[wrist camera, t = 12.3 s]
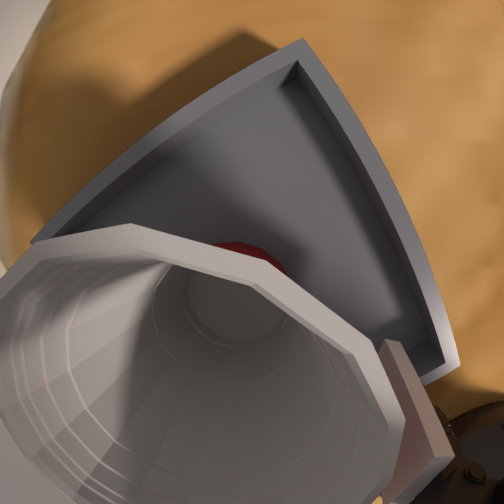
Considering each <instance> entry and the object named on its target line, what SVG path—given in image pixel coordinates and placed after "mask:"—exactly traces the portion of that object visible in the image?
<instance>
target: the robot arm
mask: <svg viewBox="0 0 504 504" xmlns="http://www.w3.org/2000/svg"><path fill="white" fill-rule="evenodd" d="M377 355H378V357H379V359H380V361H381V364H382V366H383V368H384V370H385V372H386V375H387V377H388V379H389V382H390V384H391V386H392V388H393V391H394V393H395V395H396V398H397V400H398V402H399V405H400V407H401V410H402V412H403V414H404V417H405V419H406V420H405V426H404V431H403V436H402V441H401V445H400V450H399V454H398V459H397V463H396V467H395V471H394V475H393V478H392V481H391V482H390V483H389V485H388V486H387V487H386V488H385V489H384V490H383V491H382V492H381V495H382V501H383V504H504V402H501V403H495V404H491V405H487V406H484V407H481V408H479V409H476V410H474V411H471V412H469V413H467V414H465V415H463V416H461V417H459V418H457V419H455V420H453V421H451V422H450V423H449V422H448V419H447V417H446V415H445V414H444V413H443V412H442V411H441V410H440V409H439V408H438V407H437V406H432V404H431V401H430V399H429V397H428V395H427V393H426V391H425V389H424V387H423V385H422V383H421V381H420V379H419V377H418V375H417V373H416V371H415V369H414V367H413V365H412V364H411V362H410V360H409V358H408V356H407V354H406V352H405V350H404V348H403V347H402V345H401V343H400V342H397V341H393V340H388V339H385V340H384V342H383V344H382V346H381V348H380V350H379V352H378V354H377Z"/></svg>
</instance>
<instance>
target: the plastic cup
mask: <svg viewBox="0 0 504 504" xmlns="http://www.w3.org/2000/svg"><path fill="white" fill-rule="evenodd" d="M0 417H1V419H2V421H3V422H4V424H5V426H6V428H7V429H8V431H9V433H10V434H11V436H12V438H13V439H14V441H15V443H16V444H17V446H18V447H19V449H20V450H21V452H22V453H23V455H24V456H25V457H26V459H27V460H28V461H29V462H30V463H31V464H32V465H33V466H34V467H35V468H36V469H37V470H38V471H39V472H40V473H41V474H42V475H43V476H44V477H45V478H46V479H47V480H48V481H49V482H50V483H51V484H52V485H53V486H54V487H55V488H56V489H57V490H58V491H59V492H60V493H61V494H62V495H63V496H65V497H66V498H67V499H68V500H69V501H71V502H72V503H74V504H371V503H372V502H373V501H374V500H375V499H376V498H377V497H378V496H379V495H380V494H381V492H382V491H383V490H384V489H385V488H386V487H387V486H388V485H389V483H390V482H391V481H392V478H393V475H394V471H395V467H396V463H397V459H398V454H399V450H400V445H401V441H402V436H403V431H404V426H405V420H406V419H405V417H404V414H403V412H402V410H401V407H400V405H399V402H398V400H397V398H396V395H395V393H394V391H393V388H392V386H391V384H390V382H389V379H388V377H387V375H386V372H385V370H384V368H383V366H382V364H381V361H380V359H379V357H378V355H377V353H376V350H375V348H374V346H373V344H372V342H371V340H369V339H368V338H367V337H365V336H364V335H363V334H362V333H360V332H359V331H358V330H356V329H355V328H354V327H352V326H351V325H350V324H348V323H347V322H346V321H345V320H343V319H342V318H341V317H339V316H338V315H337V314H335V313H334V312H333V311H331V310H330V309H329V308H328V307H326V306H325V305H324V304H322V303H321V302H320V301H318V300H317V299H316V298H314V297H313V296H312V295H311V294H309V293H308V292H307V291H305V290H304V289H303V288H301V287H300V286H299V285H297V284H296V283H295V282H294V281H292V280H291V279H290V278H289V277H288V275H287V273H286V272H285V270H284V268H283V267H282V265H281V263H280V262H278V261H277V260H276V259H275V258H273V257H272V256H271V255H269V254H268V253H267V252H266V251H264V250H263V249H262V248H260V247H256V246H253V245H249V244H245V243H242V242H238V241H234V242H225V243H217V244H211V245H207V244H204V243H200V242H197V241H193V240H189V239H186V238H182V237H178V236H175V235H171V234H168V233H164V232H160V231H157V230H153V229H150V228H146V227H142V226H139V225H135V224H132V223H129V224H123V225H118V226H112V227H107V228H102V229H96V230H91V231H86V232H81V233H76V234H71V235H66V236H61V237H56V238H51V239H47V240H42V241H37V242H35V243H34V244H33V245H32V246H31V247H30V248H29V249H28V250H27V251H26V252H25V253H24V254H23V255H22V256H21V257H20V258H19V260H18V261H17V262H16V263H15V264H14V265H13V266H12V267H11V268H10V269H9V270H8V271H7V272H6V273H5V275H4V276H3V277H2V278H1V279H0Z"/></svg>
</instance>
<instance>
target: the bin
mask: <svg viewBox="0 0 504 504" xmlns="http://www.w3.org/2000/svg"><path fill="white" fill-rule="evenodd" d="M129 223H132V224H135V225H139V226H142V227H146V228H150V229H153V230H157V231H160V232H164V233H168V234H171V235H175V236H178V237H182V238H186V239H189V240H193V241H197V242H200V243H204V244H207V245H211V244H217V243H225V242H234V241H238V242H242V243H245V244H249V245H253V246H256V247H260V248H262V249H263V250H264V251H266V252H267V253H268V254H269V255H271V256H272V257H273V258H275V259H276V260H277V261H278V262H280V263H281V265H282V267H283V268H284V270H285V272H286V273H287V275H288V277H289V278H290V279H291V280H292V281H294V282H295V283H296V284H297V285H299V286H300V287H301V288H303V289H304V290H305V291H307V292H308V293H309V294H311V295H312V296H313V297H314V298H316V299H317V300H318V301H320V302H321V303H322V304H324V305H325V306H326V307H328V308H329V309H330V310H331V311H333V312H334V313H335V314H337V315H338V316H339V317H341V318H342V319H343V320H345V321H346V322H347V323H348V324H350V325H351V326H352V327H354V328H355V329H356V330H358V331H359V332H360V333H362V334H363V335H364V336H365V337H367V338H368V339H369V340H371V342H372V344H373V346H374V348H375V350H376V353H377V354H378V352H379V350H380V348H381V346H382V344H383V342H384V340H385V339H388V340H393V341H397V342H400V343H401V345H402V347H403V348H404V350H405V352H406V354H407V356H408V358H409V360H410V362H411V364H412V365H413V367H414V369H415V371H416V373H417V375H418V377H419V379H420V381H421V383H422V385H423V387H424V386H426V385H428V384H430V383H432V382H433V381H435V380H437V379H439V378H441V377H442V376H444V375H446V374H447V373H449V372H451V371H452V370H454V369H456V368H457V367H459V366H461V364H460V360H459V356H458V352H457V348H456V345H455V341H454V337H453V334H452V330H451V327H450V323H449V320H448V317H447V313H446V310H445V307H444V304H443V301H442V298H441V295H440V292H439V289H438V286H437V283H436V281H435V278H434V275H433V272H432V270H431V267H430V264H429V262H428V259H427V256H426V254H425V251H424V249H423V246H422V244H421V241H420V239H419V237H418V234H417V232H416V230H415V227H414V225H413V223H412V220H411V218H410V216H409V214H408V211H407V209H406V207H405V205H404V203H403V201H402V199H401V196H400V194H399V192H398V190H397V188H396V186H395V184H394V182H393V180H392V178H391V176H390V174H389V172H388V170H387V168H386V167H385V165H384V163H383V161H382V159H381V157H380V155H379V153H378V152H377V150H376V148H375V146H374V144H373V143H372V141H371V139H370V137H369V136H368V134H367V132H366V130H365V129H364V127H363V125H362V124H361V122H360V120H359V119H358V117H357V115H356V114H355V112H354V111H353V109H352V107H351V106H350V104H349V103H348V101H347V99H346V98H345V96H344V95H343V93H342V92H341V90H340V89H339V87H338V86H337V84H336V83H335V81H334V80H333V78H332V77H331V75H330V74H329V73H328V71H327V70H326V68H325V67H324V65H323V64H322V63H321V61H320V60H319V58H318V57H317V56H316V54H315V53H314V52H313V50H312V49H311V48H310V46H309V45H308V44H307V42H306V41H305V40H304V39H303V38H301V39H299V40H297V41H295V42H293V43H291V44H289V45H287V46H285V47H283V48H281V49H279V50H277V51H275V52H273V53H271V54H270V55H268V56H266V57H264V58H262V59H260V60H259V61H257V62H255V63H253V64H251V65H250V66H248V67H246V68H244V69H243V70H241V71H239V72H237V73H236V74H234V75H232V76H231V77H229V78H227V79H226V80H224V81H223V82H221V83H219V84H218V85H216V86H215V87H213V88H211V89H210V90H208V91H207V92H205V93H204V94H202V95H201V96H199V97H198V98H196V99H195V100H193V101H192V102H190V103H189V104H187V105H186V106H184V107H183V108H181V109H180V110H178V111H177V112H176V113H174V114H173V115H171V116H170V117H169V118H167V119H166V120H165V121H163V122H162V123H160V124H159V125H158V126H156V127H155V128H154V129H152V130H151V131H150V132H148V133H147V134H146V135H145V136H143V137H142V138H141V139H139V140H138V141H137V142H136V143H134V144H133V145H132V146H131V147H129V148H128V149H127V150H126V151H124V152H123V153H122V154H121V155H120V156H118V157H117V158H116V159H115V160H114V161H112V162H111V163H110V164H109V165H108V166H107V167H106V168H104V169H103V170H102V171H101V172H100V173H99V174H98V175H96V176H95V177H94V178H93V179H92V180H91V181H90V182H89V183H88V184H86V185H85V186H84V187H83V188H82V189H81V190H80V191H79V192H78V193H77V194H76V195H75V196H74V197H73V198H72V199H71V200H70V201H69V202H68V203H66V204H65V205H64V206H63V207H62V208H61V209H60V210H59V211H58V212H57V213H56V214H55V216H54V217H53V218H52V219H51V220H50V221H49V222H48V223H47V224H46V225H45V226H44V227H43V228H42V229H41V230H40V231H39V232H38V233H37V235H36V236H35V237H34V238H33V239H32V240H31V241H30V243H31V245H33V244H34V243H35V242H37V241H42V240H47V239H51V238H56V237H61V236H66V235H71V234H76V233H81V232H86V231H91V230H96V229H102V228H107V227H112V226H118V225H123V224H129Z"/></svg>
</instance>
